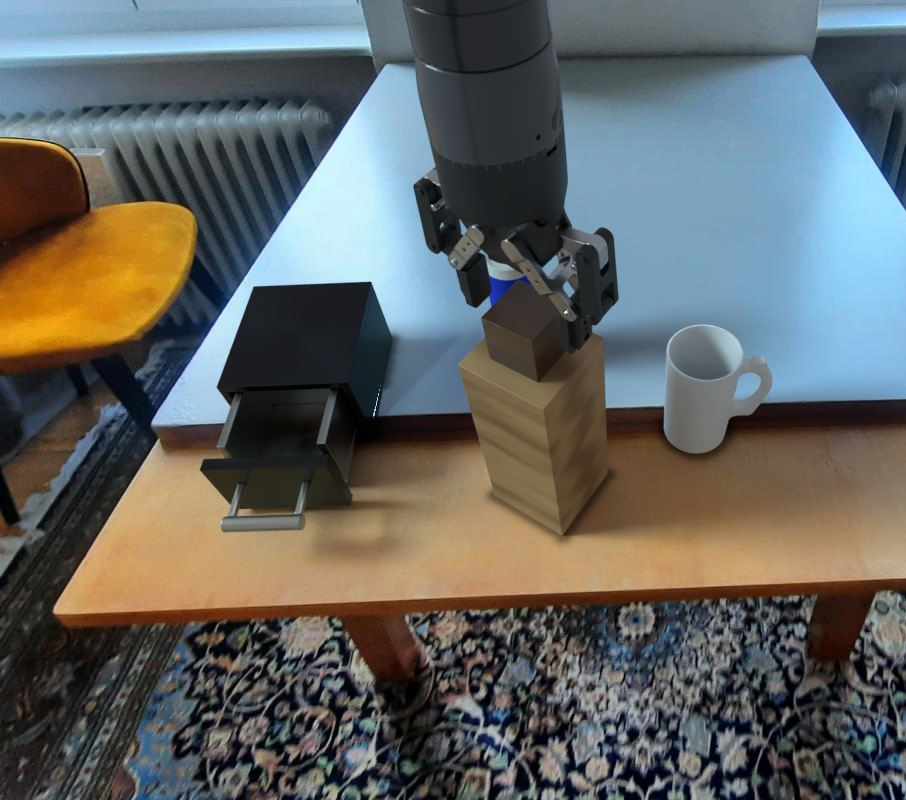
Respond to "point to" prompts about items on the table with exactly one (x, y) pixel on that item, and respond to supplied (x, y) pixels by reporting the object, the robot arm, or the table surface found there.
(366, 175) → the table surface
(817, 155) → the table surface
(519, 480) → the stand
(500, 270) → the beverage can
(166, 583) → the table surface
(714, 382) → the mug
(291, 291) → the black drawer cabinet
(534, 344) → the block
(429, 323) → the table surface
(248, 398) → the drawer
